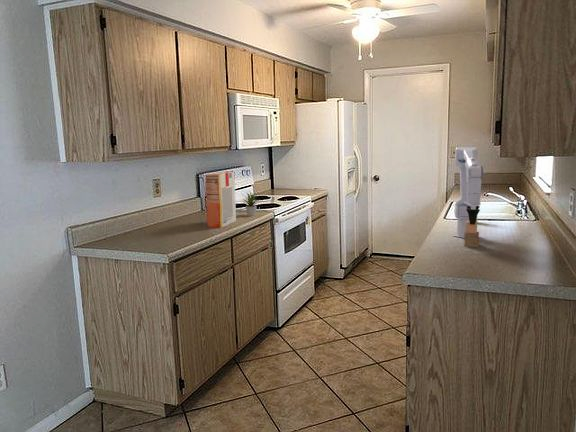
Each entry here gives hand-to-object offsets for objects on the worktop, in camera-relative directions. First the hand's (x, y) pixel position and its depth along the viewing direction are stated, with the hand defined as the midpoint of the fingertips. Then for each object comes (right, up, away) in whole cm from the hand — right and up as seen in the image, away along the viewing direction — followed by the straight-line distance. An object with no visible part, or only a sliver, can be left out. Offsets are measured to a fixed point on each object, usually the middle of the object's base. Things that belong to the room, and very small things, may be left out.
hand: (472, 222), depth 219 cm
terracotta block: (0, -4, +1) cm, 4 cm away
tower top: (0, -7, +1) cm, 7 cm away
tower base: (0, -10, +1) cm, 10 cm away
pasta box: (-122, -2, +66) cm, 139 cm away
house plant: (-106, +3, +93) cm, 141 cm away
